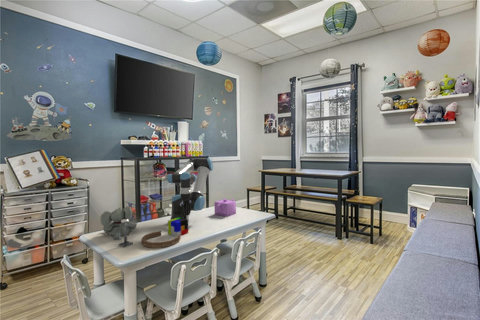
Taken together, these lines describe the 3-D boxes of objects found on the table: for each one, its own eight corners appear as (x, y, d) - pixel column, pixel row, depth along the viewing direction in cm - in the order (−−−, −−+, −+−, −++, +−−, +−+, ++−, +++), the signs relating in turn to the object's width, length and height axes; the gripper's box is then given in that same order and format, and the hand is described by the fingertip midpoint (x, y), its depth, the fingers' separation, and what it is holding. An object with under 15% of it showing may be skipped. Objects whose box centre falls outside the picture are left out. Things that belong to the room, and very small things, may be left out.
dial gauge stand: (118, 246, 165) (117, 220, 164) (129, 241, 172) (128, 217, 172) (127, 248, 161) (127, 222, 161) (138, 243, 169) (137, 218, 168)
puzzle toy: (177, 236, 181) (176, 222, 180) (168, 234, 187) (167, 220, 186) (188, 233, 189) (187, 219, 188) (179, 230, 195) (178, 217, 194)
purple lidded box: (240, 212, 249) (240, 197, 248) (223, 217, 229) (223, 202, 228) (228, 210, 258) (227, 196, 257) (211, 215, 238) (210, 200, 237)
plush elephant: (105, 230, 197) (104, 203, 196) (136, 227, 204) (135, 201, 203) (99, 242, 172) (97, 211, 171) (134, 238, 179) (133, 208, 178)
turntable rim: (133, 244, 167) (133, 239, 167) (157, 234, 186) (157, 230, 186) (162, 250, 157) (162, 245, 156) (184, 239, 175) (184, 234, 175)
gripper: (184, 194, 188) (184, 226, 188) (194, 191, 199) (195, 222, 200) (176, 194, 191) (176, 225, 192) (187, 191, 203) (187, 221, 203)
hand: (186, 223), depth 196 cm, fingers closed
